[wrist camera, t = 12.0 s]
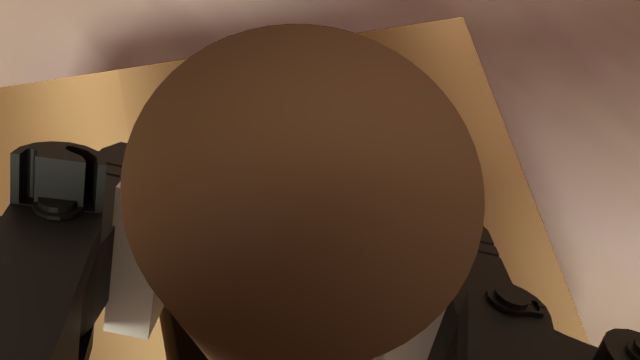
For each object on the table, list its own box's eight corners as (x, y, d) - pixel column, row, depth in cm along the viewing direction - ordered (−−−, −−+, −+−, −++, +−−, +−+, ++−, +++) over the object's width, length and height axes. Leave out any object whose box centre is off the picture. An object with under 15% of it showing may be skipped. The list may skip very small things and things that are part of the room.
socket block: (401, 124, 26) (462, 16, 19) (519, 484, 22) (661, 529, 14) (22, 195, 23) (-82, 99, 16) (67, 634, 19) (-49, 789, 11)
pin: (314, 240, 19) (422, 3, 8) (347, 369, 17) (536, 314, 6) (186, 268, 18) (95, 51, 7) (212, 405, 17) (153, 418, 5)
